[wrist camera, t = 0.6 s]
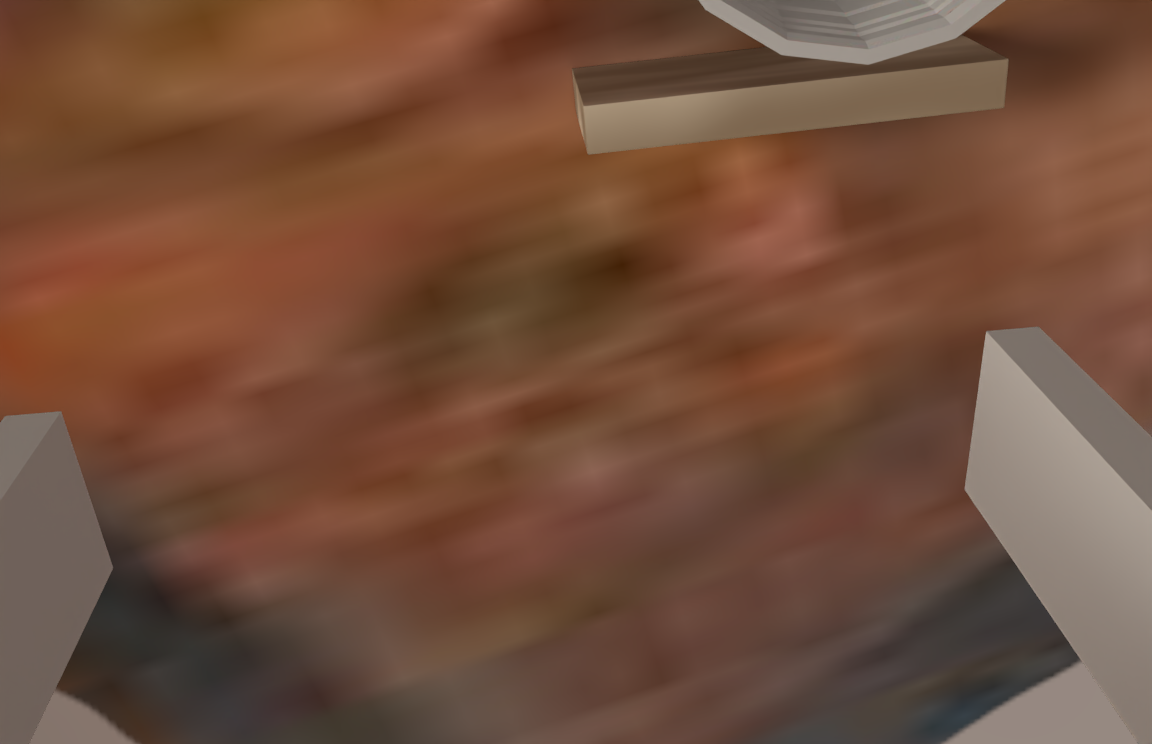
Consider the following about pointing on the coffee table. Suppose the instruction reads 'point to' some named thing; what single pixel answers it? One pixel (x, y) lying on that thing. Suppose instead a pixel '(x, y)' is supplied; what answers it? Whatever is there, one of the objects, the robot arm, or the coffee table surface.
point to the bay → (777, 93)
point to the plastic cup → (850, 25)
